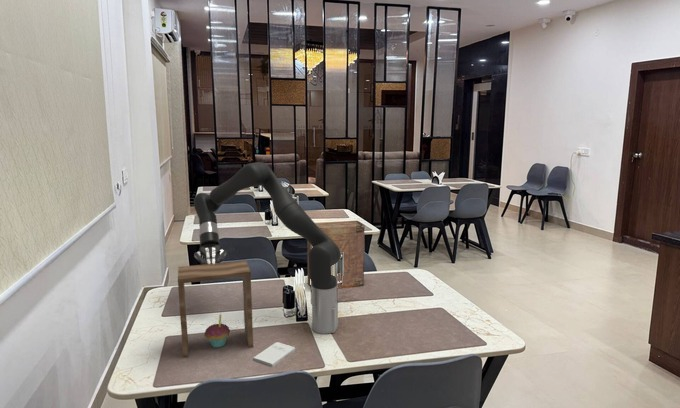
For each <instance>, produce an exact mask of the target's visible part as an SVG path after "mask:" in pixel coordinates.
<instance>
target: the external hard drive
mask: <svg viewBox="0 0 680 408" xmlns="http://www.w3.org/2000/svg"><path fill="white" fill-rule="evenodd" d="M295 351H296V347H295V346H291V345H288V344H285V343H282V342H279V341H277V342H274V343H273V344H271V345H270V346H268V347H267V348H266V349H264V350H262V351H261V352H259V353H258V354H257V355H255V356H253V357H252V361H254V362H257V363H260V364H262V363H263V365H265V364H266V366H268V365H269V367H271V368H274V367H275V366H276V365H277V364H278V363H280V362H282V361H283V360H284V359H285V358H287V357H288V356H289V355H290V354H292V353H293V352H295Z"/></svg>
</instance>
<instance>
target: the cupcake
mask: <svg viewBox="0 0 680 408" xmlns="http://www.w3.org/2000/svg"><path fill="white" fill-rule="evenodd" d="M218 318H219V319H218V323H214V324H211V325H210V326H207V328H206V329H205V332H204V337H205V338H206V339H207V340H209V343H210V346H212V347H213V348H220V347H223V346H225V345H226V342H227V339H228V336H230V333H231V329H230V328H229V327H230V326H228V325H227V324H224V323H222V313H220V314H219V317H218Z"/></svg>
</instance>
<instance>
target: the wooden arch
mask: <svg viewBox="0 0 680 408" xmlns="http://www.w3.org/2000/svg"><path fill="white" fill-rule="evenodd" d="M177 270H178V271H177V289H178V301H179V316H180V331H181V333H180V334H181V344H182V358H183V359H186V358H189V342H188V341H189V337H188V335H189V334H188V322H187V308H186V306H187V305H186V291H185V284H188V283H198V282H206V281H207V282H208V281H216V280H217V281H218V280H224V279H225V280H226V279H227V280H228V279H234V278H235V279H236V278H242V295H243V323H244V325H243V326H244V334H245V339H246V341H247V345H248V348H254V331H253V330H254V328H253V327H254V325H253V324H254V323H253V305H252V304H253V303H252V300H253V299H252V279H251V278H252V272H251V270H250V267H249V264H248V261H247V260H237V261H226V262H220V263H214V264H212V263H211V264H204V265H202V264H196V265H184V266H178V269H177Z"/></svg>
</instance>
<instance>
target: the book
mask: <svg viewBox="0 0 680 408" xmlns="http://www.w3.org/2000/svg"><path fill="white" fill-rule="evenodd" d="M315 224H316V225H317V226H318V227H319V228H320V229H321V230H322V231H323V232H324V233H325V234H326V235H327V236H328V237H329V238H330V239H331V240H332V241H333V242H334V243H335V244H336V245H337V246H338V248H339V250H340V252H344V276H343V285H340V284H338V289H337V290H339V289H341V290H342V289H349V288H357V287H364V285H365V283H364V281H365V280H364V279H365V227H366V226H365V225H364V224H363V223H361V222H360V221H358V220H355V221H354V220H353V221H351V220H350V221H337V222H335V221H334V222H324V223H322V222H321V223H315ZM310 250H311V244H310V243H309V242H308V241H307V285H308V286H310V275H309V252H310ZM338 281H339V282H340V274H339V273H338Z"/></svg>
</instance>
